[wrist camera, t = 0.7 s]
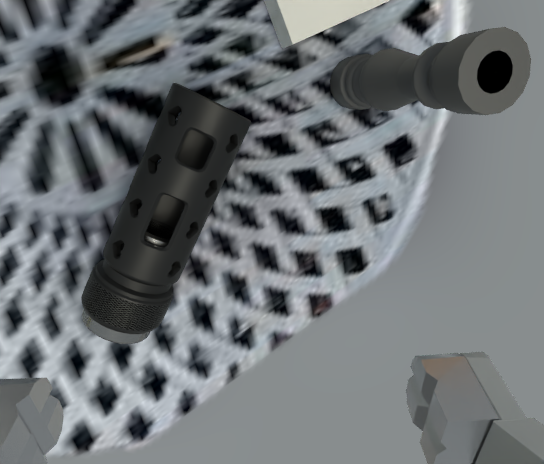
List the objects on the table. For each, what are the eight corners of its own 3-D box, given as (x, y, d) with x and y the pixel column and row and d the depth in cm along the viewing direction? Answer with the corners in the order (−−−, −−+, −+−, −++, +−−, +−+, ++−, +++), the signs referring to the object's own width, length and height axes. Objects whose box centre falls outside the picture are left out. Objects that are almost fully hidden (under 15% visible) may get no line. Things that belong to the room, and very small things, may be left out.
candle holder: (336, 115, 53) (461, 130, 29) (324, 65, 50) (448, 39, 27) (381, 99, 53) (537, 102, 30) (370, 49, 51) (530, 10, 28)
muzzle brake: (245, 119, 51) (261, 125, 41) (157, 312, 56) (152, 357, 46) (171, 82, 48) (169, 78, 38) (85, 289, 53) (64, 332, 43)
